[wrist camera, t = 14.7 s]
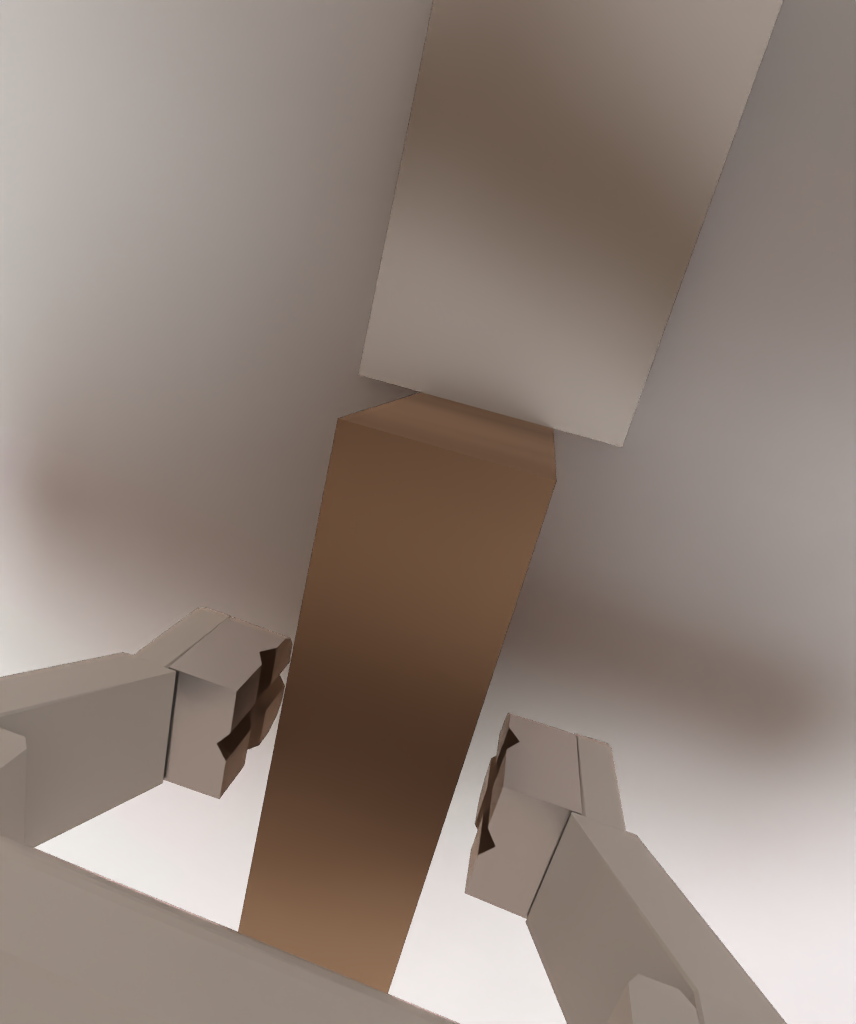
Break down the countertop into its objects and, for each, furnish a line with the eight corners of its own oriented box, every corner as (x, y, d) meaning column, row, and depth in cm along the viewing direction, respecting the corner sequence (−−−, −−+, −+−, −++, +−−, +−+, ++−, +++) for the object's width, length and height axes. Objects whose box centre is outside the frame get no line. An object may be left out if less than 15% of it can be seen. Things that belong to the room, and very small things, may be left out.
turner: (488, 807, 13) (454, 1054, 9) (293, 736, 14) (163, 932, 9) (779, -9, 8) (1074, -471, 4) (457, -64, 9) (358, -521, 4)
